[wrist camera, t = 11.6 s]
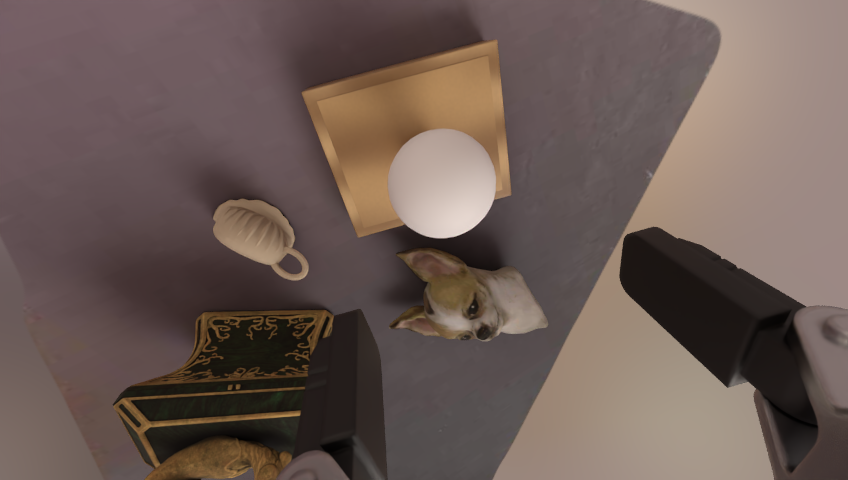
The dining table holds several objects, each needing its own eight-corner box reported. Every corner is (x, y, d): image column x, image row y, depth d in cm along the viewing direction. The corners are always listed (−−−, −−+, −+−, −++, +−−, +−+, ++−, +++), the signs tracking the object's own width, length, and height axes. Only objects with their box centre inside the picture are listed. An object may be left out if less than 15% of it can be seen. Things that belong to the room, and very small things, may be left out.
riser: (307, 87, 25) (300, 92, 22) (484, 40, 25) (497, 39, 23) (358, 222, 31) (357, 238, 29) (499, 183, 31) (512, 195, 29)
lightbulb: (449, 190, 28) (493, 263, 18) (376, 180, 26) (383, 254, 17) (467, 115, 25) (530, 155, 15) (387, 99, 23) (402, 133, 14)
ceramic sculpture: (539, 377, 33) (388, 377, 31) (511, 317, 40) (388, 314, 38) (575, 291, 28) (398, 284, 26) (535, 241, 35) (396, 232, 33)
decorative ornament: (235, 182, 28) (209, 208, 23) (321, 235, 31) (313, 267, 27) (211, 216, 29) (182, 248, 24) (297, 264, 32) (286, 299, 28)
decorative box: (349, 301, 36) (335, 527, 19) (349, 362, 40) (338, 588, 23) (137, 304, 32) (-117, 591, 15) (164, 372, 37) (-7, 648, 20)
